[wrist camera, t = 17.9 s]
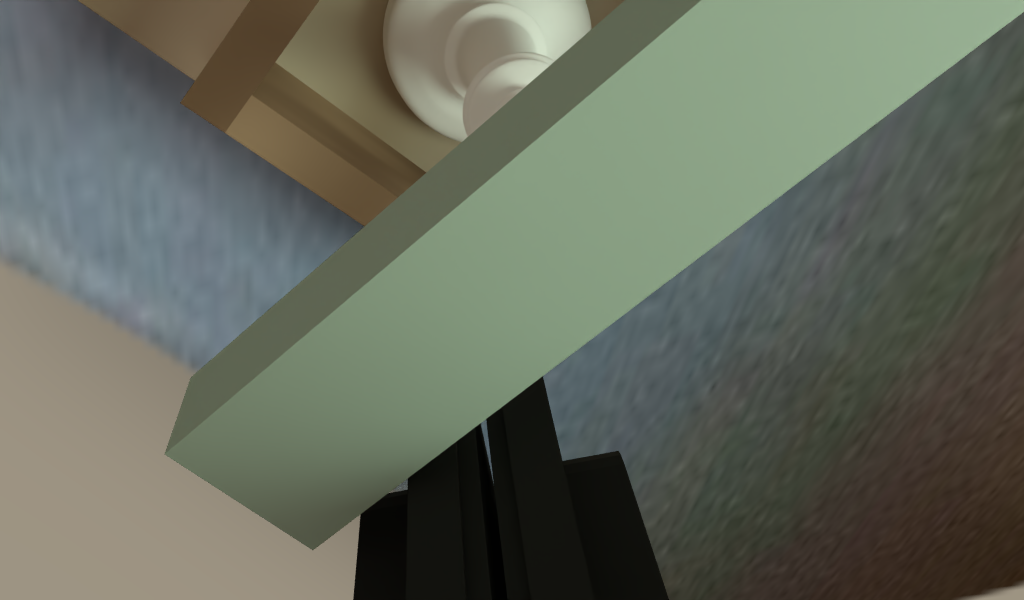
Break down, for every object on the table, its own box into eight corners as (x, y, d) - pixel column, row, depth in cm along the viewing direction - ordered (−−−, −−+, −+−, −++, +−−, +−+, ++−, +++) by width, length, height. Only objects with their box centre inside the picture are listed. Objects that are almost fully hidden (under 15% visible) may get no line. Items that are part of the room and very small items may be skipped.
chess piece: (581, 138, 21) (716, 356, 13) (387, 141, 21) (392, 372, 12) (598, -71, 19) (778, 25, 10) (377, -75, 18) (375, 23, 10)
